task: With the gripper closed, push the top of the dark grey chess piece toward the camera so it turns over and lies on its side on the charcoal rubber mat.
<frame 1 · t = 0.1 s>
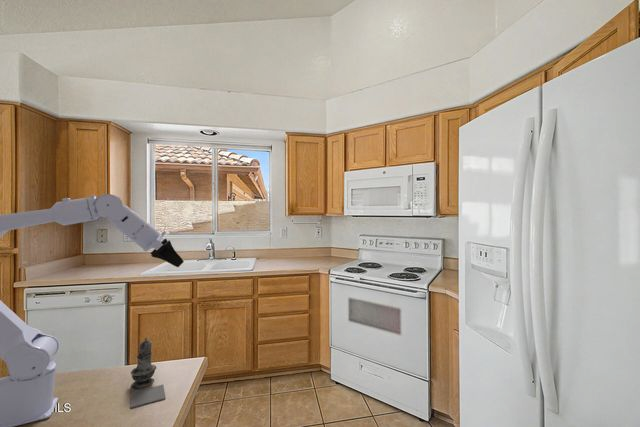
hand: (179, 263, 78), 32 cm above the counter, tool tilted 50°, fingers open, 7 cm apart
charcoal mat: (148, 396, 68), on the counter
dark grey chess piece: (142, 384, 73), on the counter
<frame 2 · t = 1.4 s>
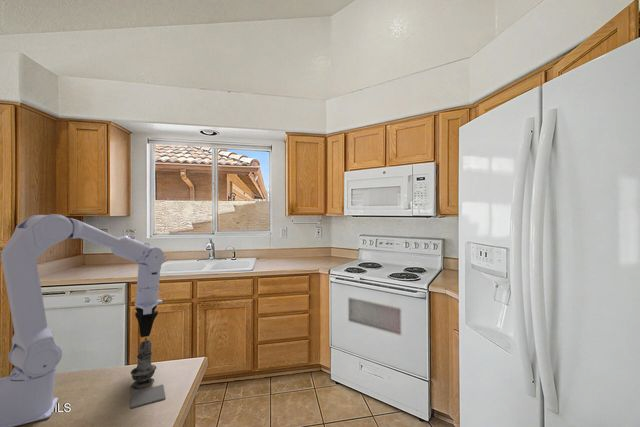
hand: (144, 333, 82), 10 cm above the counter, tool pointing down, fingers open, 5 cm apart
nothing on the counter moved.
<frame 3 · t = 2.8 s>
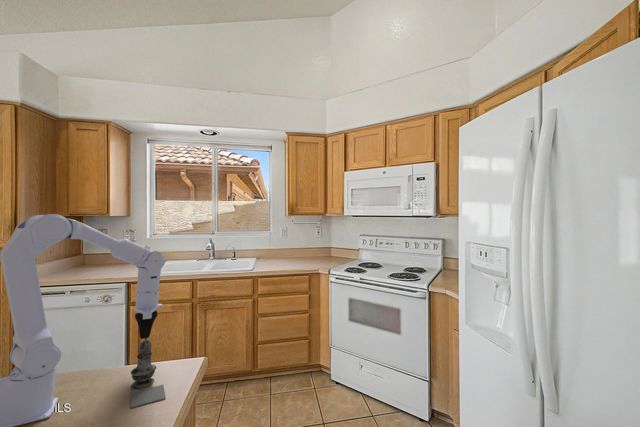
hand: (144, 337, 81), 9 cm above the counter, tool pointing down, fingers closed
nothing on the counter moved.
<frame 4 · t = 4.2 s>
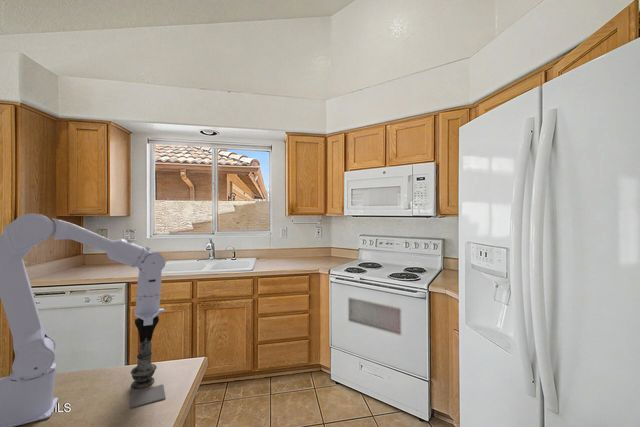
hand: (145, 345, 75), 9 cm above the counter, tool pointing down, fingers closed
dark grey chess piece: (142, 383, 73), on the counter, touching gripper
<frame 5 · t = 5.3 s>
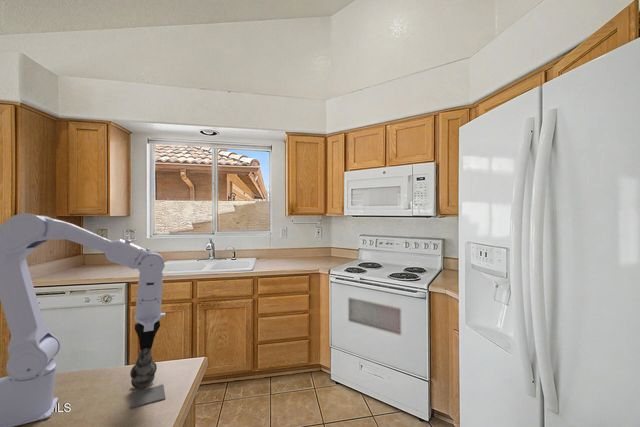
hand: (145, 351, 71), 9 cm above the counter, tool pointing down, fingers closed
dark grey chess piece: (143, 379, 73), point 1 cm above the counter
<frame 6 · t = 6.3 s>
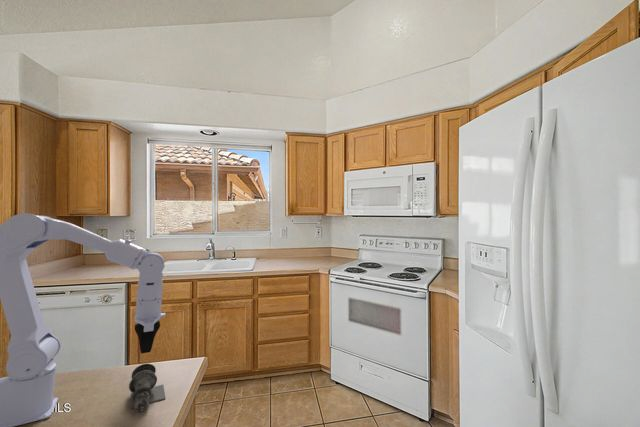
hand: (145, 351, 71), 9 cm above the counter, tool pointing down, fingers closed
dark grey chess piece: (143, 372, 71), point 4 cm above the counter, touching charcoal mat
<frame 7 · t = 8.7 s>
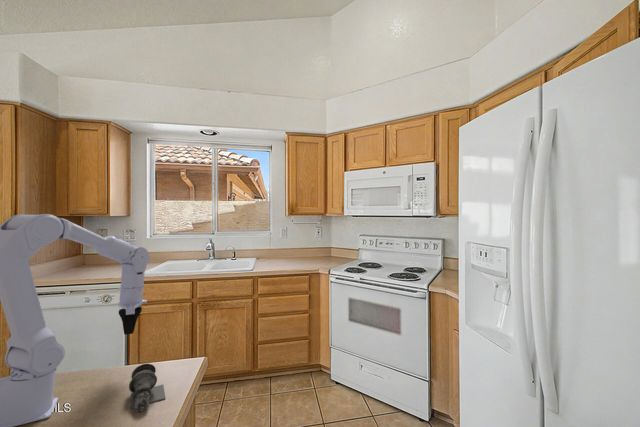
hand: (128, 333, 81), 10 cm above the counter, tool pointing down, fingers closed
nothing on the counter moved.
at the end: dark grey chess piece tilted 106°; dark grey chess piece inside the target area (2.2 cm from its centre), point 4.2 cm above the counter; dark grey chess piece touching charcoal mat, counter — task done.
